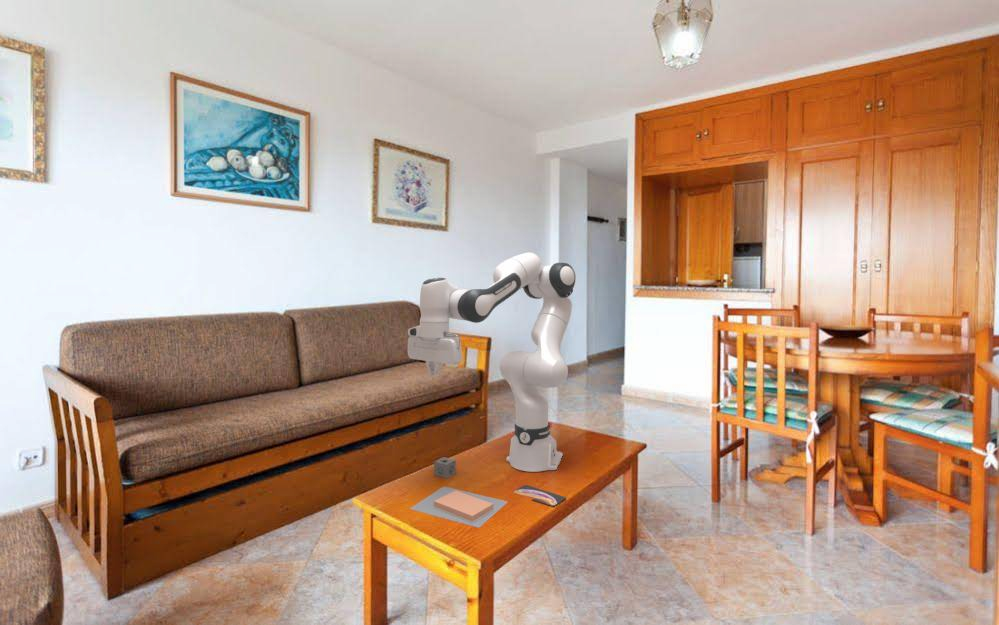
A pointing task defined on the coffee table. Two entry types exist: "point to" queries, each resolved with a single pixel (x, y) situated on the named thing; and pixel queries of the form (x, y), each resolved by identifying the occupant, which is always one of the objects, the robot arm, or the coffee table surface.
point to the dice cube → (445, 467)
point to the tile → (463, 506)
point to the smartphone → (540, 495)
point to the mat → (428, 508)
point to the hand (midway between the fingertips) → (434, 376)
